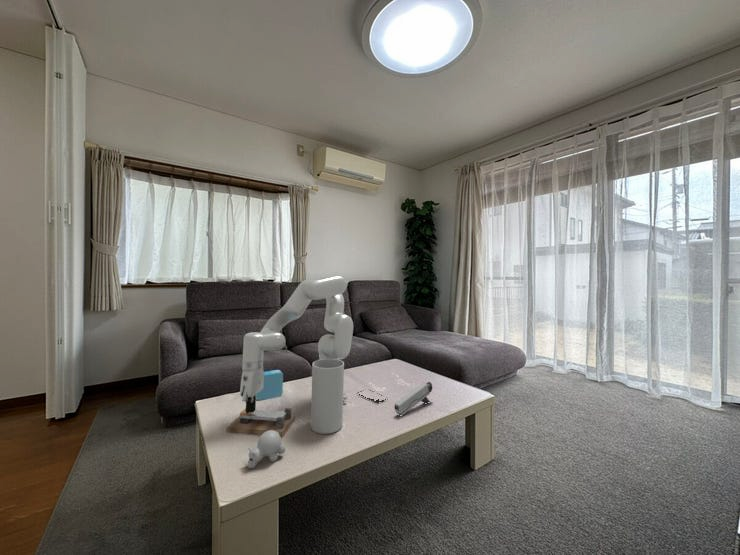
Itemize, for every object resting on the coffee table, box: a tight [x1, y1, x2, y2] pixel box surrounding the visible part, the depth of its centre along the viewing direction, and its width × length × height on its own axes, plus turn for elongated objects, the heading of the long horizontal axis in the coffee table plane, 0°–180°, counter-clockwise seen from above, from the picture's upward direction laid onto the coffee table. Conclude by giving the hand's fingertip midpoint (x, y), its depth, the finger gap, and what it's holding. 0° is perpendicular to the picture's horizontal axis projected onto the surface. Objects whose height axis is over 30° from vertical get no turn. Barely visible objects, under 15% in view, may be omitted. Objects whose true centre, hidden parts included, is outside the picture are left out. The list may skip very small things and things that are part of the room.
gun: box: [394, 381, 433, 416], centre depth 127 cm, size 2×25×10 cm, turn 131°
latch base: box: [225, 407, 296, 438], centre depth 109 cm, size 22×12×6 cm, turn 84°
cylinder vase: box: [310, 359, 345, 435], centre depth 111 cm, size 12×12×25 cm
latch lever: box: [239, 407, 287, 421], centre depth 109 cm, size 17×5×2 cm, turn 84°
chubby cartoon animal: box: [244, 430, 286, 469], centre depth 89 cm, size 7×12×8 cm, turn 135°
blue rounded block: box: [256, 369, 284, 401], centre depth 136 cm, size 12×4×12 cm, turn 122°
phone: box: [356, 389, 386, 404], centre depth 139 cm, size 8×1×15 cm
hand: (250, 411), depth 109 cm, fingers closed
